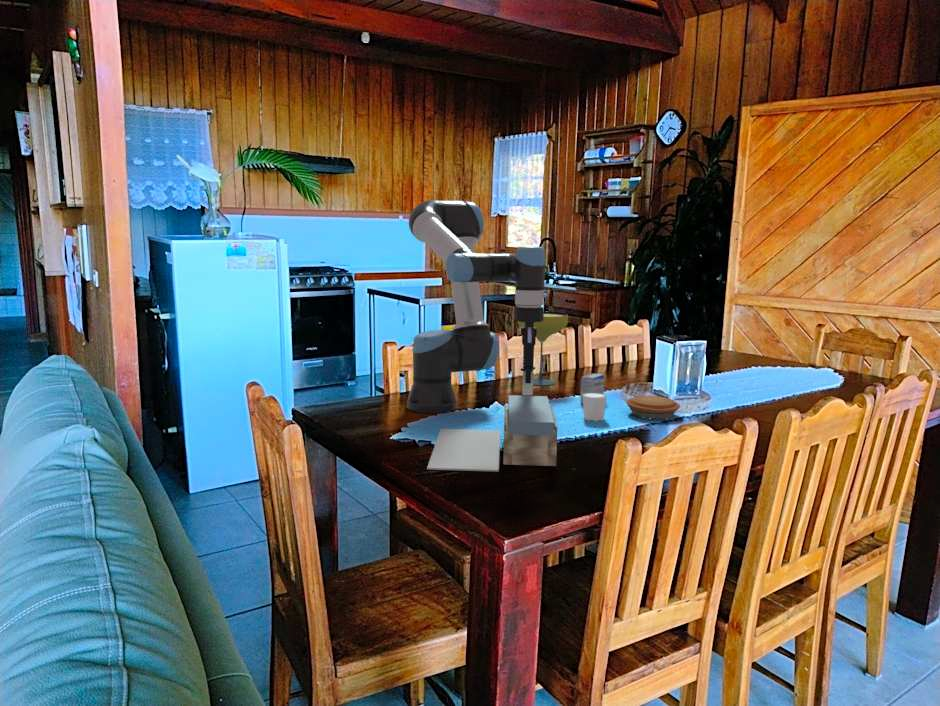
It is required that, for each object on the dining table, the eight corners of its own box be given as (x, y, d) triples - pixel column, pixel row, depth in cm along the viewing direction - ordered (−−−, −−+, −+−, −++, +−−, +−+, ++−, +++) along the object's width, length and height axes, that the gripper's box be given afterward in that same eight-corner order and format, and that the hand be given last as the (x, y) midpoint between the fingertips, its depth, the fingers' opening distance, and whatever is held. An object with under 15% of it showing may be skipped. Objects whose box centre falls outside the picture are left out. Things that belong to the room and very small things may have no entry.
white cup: (606, 416, 201) (607, 393, 200) (604, 422, 195) (605, 398, 193) (583, 414, 203) (584, 391, 202) (580, 420, 196) (581, 396, 195)
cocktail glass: (506, 380, 251) (507, 312, 247) (547, 376, 260) (549, 310, 256) (533, 390, 236) (535, 317, 232) (575, 385, 244) (578, 315, 240)
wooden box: (503, 464, 157) (504, 425, 155) (503, 439, 176) (504, 404, 175) (556, 466, 156) (557, 426, 155) (550, 440, 176) (551, 405, 174)
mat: (427, 469, 153) (426, 467, 153) (440, 430, 184) (440, 428, 184) (498, 471, 152) (498, 469, 152) (500, 431, 183) (500, 430, 183)
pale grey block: (508, 434, 152) (508, 421, 152) (508, 406, 178) (508, 395, 178) (553, 435, 152) (554, 422, 151) (546, 407, 178) (547, 396, 177)
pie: (619, 409, 211) (619, 393, 210) (668, 408, 212) (669, 393, 211) (634, 422, 196) (635, 405, 195) (687, 422, 197) (688, 405, 196)
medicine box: (592, 405, 215) (593, 378, 214) (579, 403, 218) (580, 376, 216) (603, 400, 221) (604, 374, 220) (591, 398, 224) (592, 372, 222)
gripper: (545, 308, 172) (542, 400, 176) (542, 304, 185) (540, 389, 189) (515, 308, 173) (513, 399, 176) (514, 303, 186) (513, 389, 189)
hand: (527, 394), depth 183 cm, fingers closed
